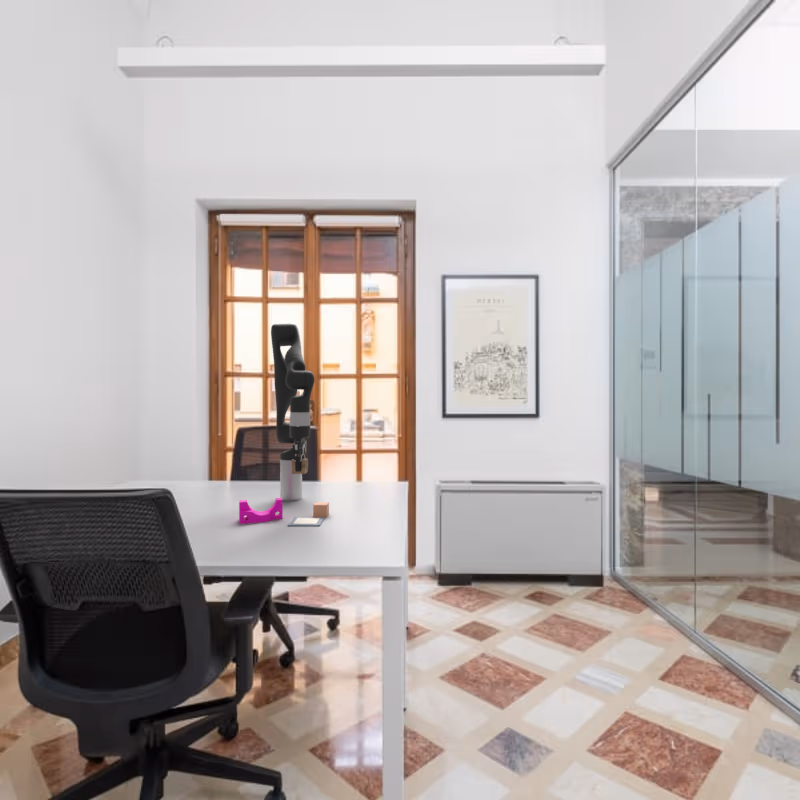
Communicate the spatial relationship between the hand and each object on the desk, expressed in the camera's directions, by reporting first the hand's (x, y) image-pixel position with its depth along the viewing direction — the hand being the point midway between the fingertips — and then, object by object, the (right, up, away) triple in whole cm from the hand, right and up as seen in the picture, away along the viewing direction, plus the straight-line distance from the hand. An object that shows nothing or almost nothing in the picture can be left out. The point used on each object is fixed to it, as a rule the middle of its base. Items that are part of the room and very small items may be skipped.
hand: (300, 470), depth 197 cm
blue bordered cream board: (+4, -18, -9) cm, 20 cm away
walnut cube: (0, -1, 0) cm, 1 cm away
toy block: (-13, -18, -5) cm, 23 cm away
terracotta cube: (+8, -18, +1) cm, 19 cm away
